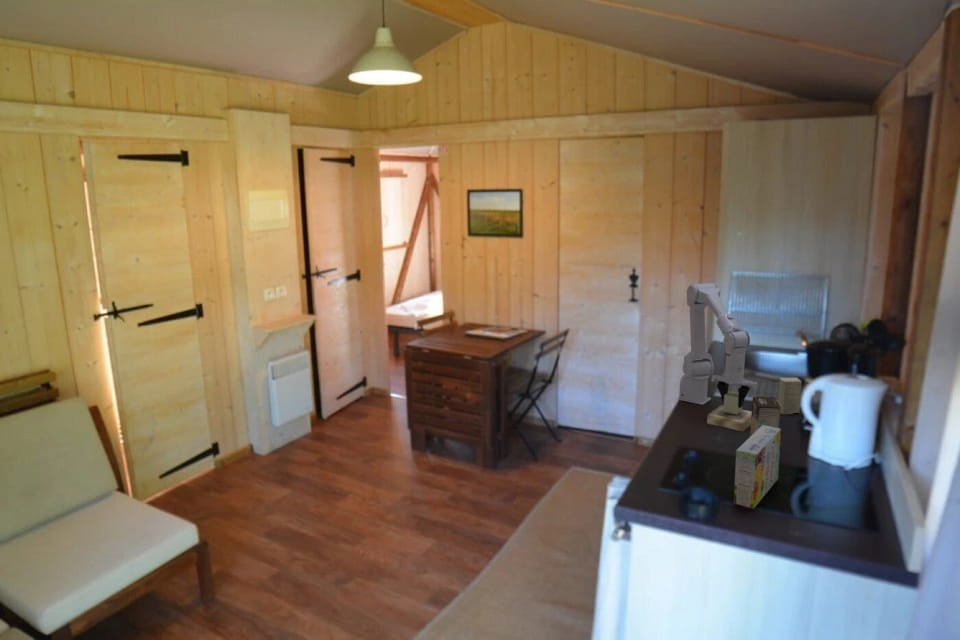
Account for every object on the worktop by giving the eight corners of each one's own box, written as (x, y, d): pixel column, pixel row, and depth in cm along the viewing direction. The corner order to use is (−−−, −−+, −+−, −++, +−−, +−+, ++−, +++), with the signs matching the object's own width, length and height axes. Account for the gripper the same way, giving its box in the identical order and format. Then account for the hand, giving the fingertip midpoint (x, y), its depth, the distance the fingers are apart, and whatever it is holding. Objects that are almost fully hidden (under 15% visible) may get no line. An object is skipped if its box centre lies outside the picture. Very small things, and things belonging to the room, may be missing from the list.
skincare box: (794, 410, 232) (797, 377, 230) (799, 414, 228) (802, 381, 225) (776, 409, 233) (778, 377, 230) (780, 414, 229) (783, 380, 226)
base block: (707, 423, 222) (707, 414, 221) (720, 413, 231) (721, 404, 230) (743, 431, 214) (743, 422, 214) (755, 420, 223) (756, 412, 222)
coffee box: (748, 444, 204) (751, 395, 201) (770, 446, 203) (774, 396, 199) (754, 457, 195) (758, 405, 192) (777, 458, 194) (781, 406, 191)
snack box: (757, 474, 184) (761, 423, 181) (778, 479, 181) (783, 428, 178) (731, 504, 168) (735, 449, 165) (754, 510, 165) (758, 454, 162)
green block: (723, 411, 222) (724, 394, 221) (728, 408, 225) (729, 391, 224) (736, 414, 219) (738, 397, 218) (741, 411, 222) (743, 394, 221)
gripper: (708, 365, 220) (706, 404, 223) (753, 373, 211) (750, 413, 214) (716, 360, 225) (714, 398, 228) (760, 368, 216) (757, 407, 219)
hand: (732, 405), depth 221 cm, fingers closed on green block, 5 cm apart
